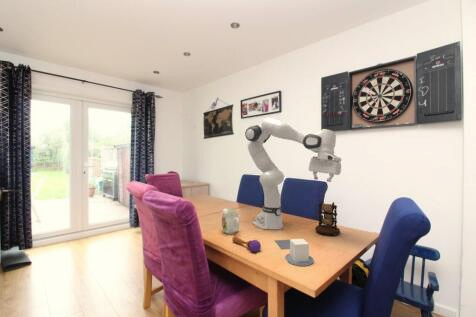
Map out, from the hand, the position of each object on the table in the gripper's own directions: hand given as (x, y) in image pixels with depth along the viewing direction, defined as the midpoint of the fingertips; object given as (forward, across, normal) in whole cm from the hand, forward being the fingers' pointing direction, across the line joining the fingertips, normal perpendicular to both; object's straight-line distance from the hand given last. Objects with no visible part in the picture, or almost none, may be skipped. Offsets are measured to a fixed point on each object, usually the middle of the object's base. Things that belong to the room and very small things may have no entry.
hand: (322, 180), depth 134 cm
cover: (+37, +14, -25) cm, 47 cm away
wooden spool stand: (+33, -5, +18) cm, 38 cm away
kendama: (+41, -12, -38) cm, 57 cm away
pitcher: (+42, -37, -34) cm, 65 cm away
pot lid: (+38, +14, -25) cm, 47 cm away
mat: (+37, -2, -16) cm, 41 cm away
